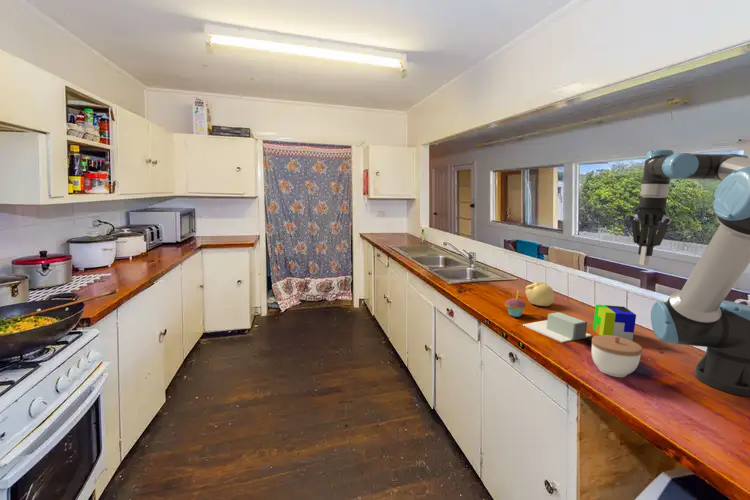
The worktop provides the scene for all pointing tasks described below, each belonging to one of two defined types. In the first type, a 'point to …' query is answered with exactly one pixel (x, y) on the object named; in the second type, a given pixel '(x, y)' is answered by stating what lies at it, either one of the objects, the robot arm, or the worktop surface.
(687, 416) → the worktop surface
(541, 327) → the board
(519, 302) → the cupcake
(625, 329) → the puzzle toy
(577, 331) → the sage block
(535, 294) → the sculpture
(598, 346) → the lidded bowl
